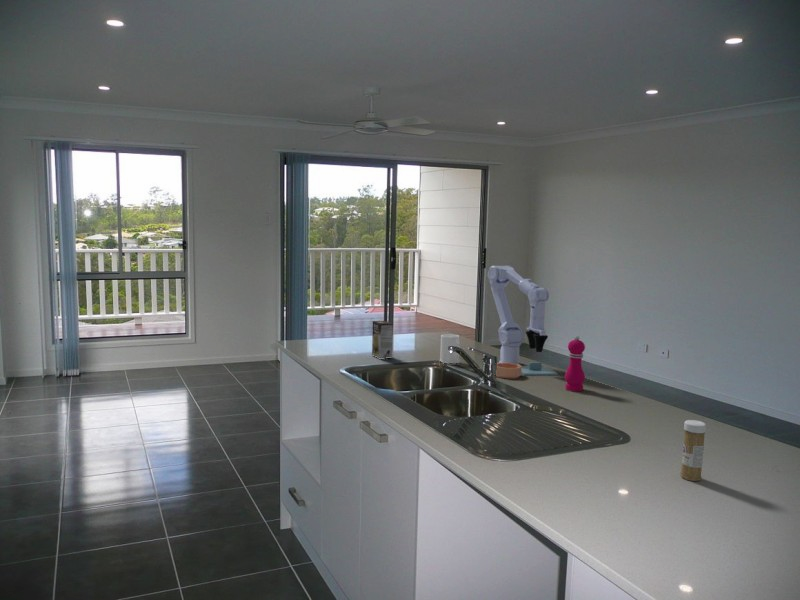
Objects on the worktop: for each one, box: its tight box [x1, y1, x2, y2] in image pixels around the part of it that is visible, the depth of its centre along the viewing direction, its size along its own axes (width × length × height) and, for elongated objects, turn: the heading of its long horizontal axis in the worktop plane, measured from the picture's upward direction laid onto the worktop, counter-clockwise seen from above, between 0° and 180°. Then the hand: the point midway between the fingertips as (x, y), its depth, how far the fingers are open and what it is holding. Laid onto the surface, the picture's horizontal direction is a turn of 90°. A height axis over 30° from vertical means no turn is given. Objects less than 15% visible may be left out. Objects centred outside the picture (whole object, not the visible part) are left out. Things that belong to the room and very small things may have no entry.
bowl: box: [495, 362, 523, 380], centre depth 246 cm, size 10×10×4 cm
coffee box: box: [371, 320, 394, 358], centre depth 277 cm, size 9×6×16 cm
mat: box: [521, 374, 561, 377], centre depth 255 cm, size 16×16×1 cm
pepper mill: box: [564, 335, 586, 392], centre depth 227 cm, size 7×7×20 cm
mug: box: [439, 333, 461, 364], centre depth 268 cm, size 12×8×12 cm
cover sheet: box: [521, 361, 559, 377], centre depth 254 cm, size 14×14×4 cm
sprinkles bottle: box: [680, 419, 707, 482], centre depth 144 cm, size 5×5×13 cm
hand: (535, 350), depth 254 cm, fingers open, 7 cm apart
